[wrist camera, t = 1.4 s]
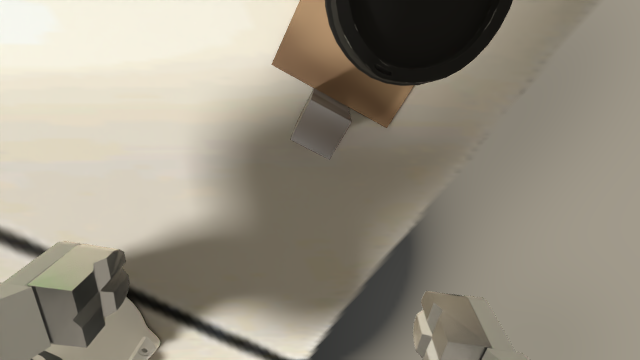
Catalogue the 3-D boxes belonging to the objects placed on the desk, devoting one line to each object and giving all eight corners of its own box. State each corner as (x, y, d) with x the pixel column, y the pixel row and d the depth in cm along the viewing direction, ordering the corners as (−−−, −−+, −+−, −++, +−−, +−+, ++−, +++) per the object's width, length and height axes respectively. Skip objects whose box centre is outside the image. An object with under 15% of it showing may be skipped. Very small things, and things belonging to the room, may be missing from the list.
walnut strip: (367, 157, 32) (374, 183, 26) (256, 99, 30) (239, 113, 24) (500, -53, 25) (549, -78, 19) (366, -148, 23) (378, -208, 17)
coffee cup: (309, 37, 27) (289, 38, 14) (356, -74, 24) (392, -218, 10) (395, 82, 29) (455, 123, 15) (450, -18, 25) (591, -81, 12)
